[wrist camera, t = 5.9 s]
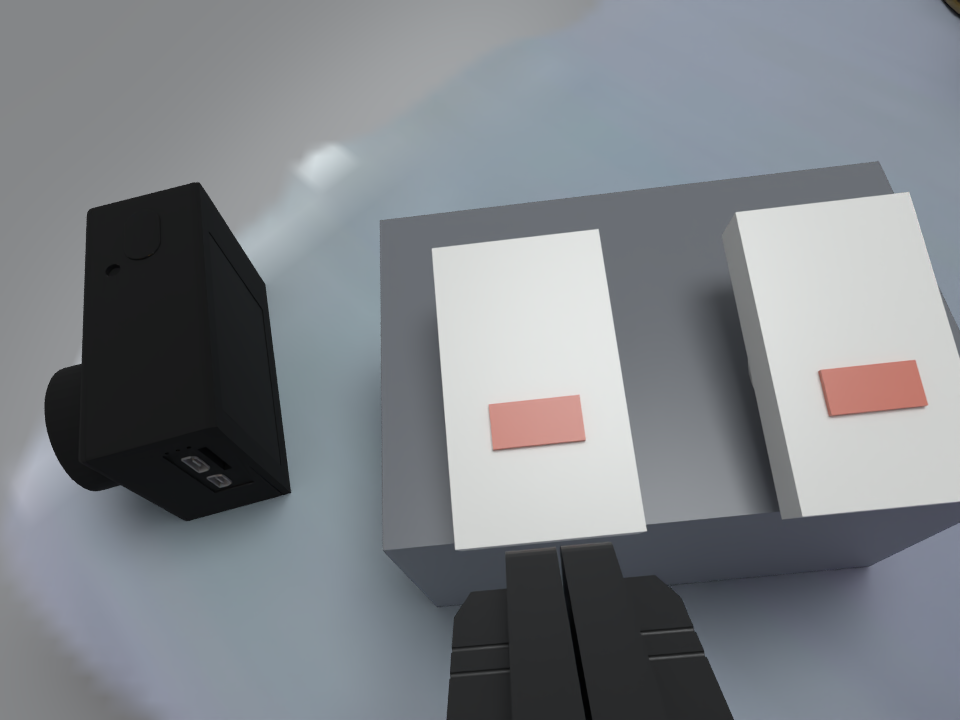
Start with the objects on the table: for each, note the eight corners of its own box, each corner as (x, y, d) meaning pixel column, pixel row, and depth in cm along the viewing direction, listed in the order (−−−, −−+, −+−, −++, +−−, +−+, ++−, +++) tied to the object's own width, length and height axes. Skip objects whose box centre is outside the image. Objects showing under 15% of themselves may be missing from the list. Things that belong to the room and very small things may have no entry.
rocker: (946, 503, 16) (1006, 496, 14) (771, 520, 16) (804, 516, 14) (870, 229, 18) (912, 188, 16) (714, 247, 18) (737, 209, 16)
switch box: (869, 566, 23) (1033, 486, 16) (437, 606, 24) (382, 550, 16) (785, 319, 28) (878, 161, 20) (426, 358, 29) (379, 220, 21)
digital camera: (149, 313, 31) (52, 213, 25) (265, 283, 32) (197, 176, 25) (154, 531, 26) (34, 473, 20) (291, 494, 27) (214, 425, 20)
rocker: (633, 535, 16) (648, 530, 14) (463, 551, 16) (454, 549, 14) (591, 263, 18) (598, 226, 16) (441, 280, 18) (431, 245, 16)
